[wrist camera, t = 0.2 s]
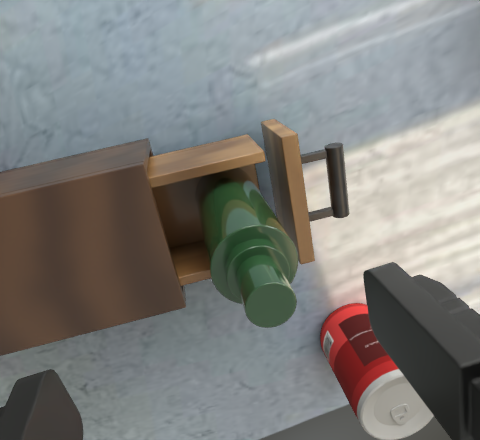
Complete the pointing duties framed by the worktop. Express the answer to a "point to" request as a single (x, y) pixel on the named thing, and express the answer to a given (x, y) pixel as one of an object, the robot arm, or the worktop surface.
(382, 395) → the canned food
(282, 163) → the drawer
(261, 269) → the bottle
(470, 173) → the worktop surface
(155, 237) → the cabinet
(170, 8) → the worktop surface
